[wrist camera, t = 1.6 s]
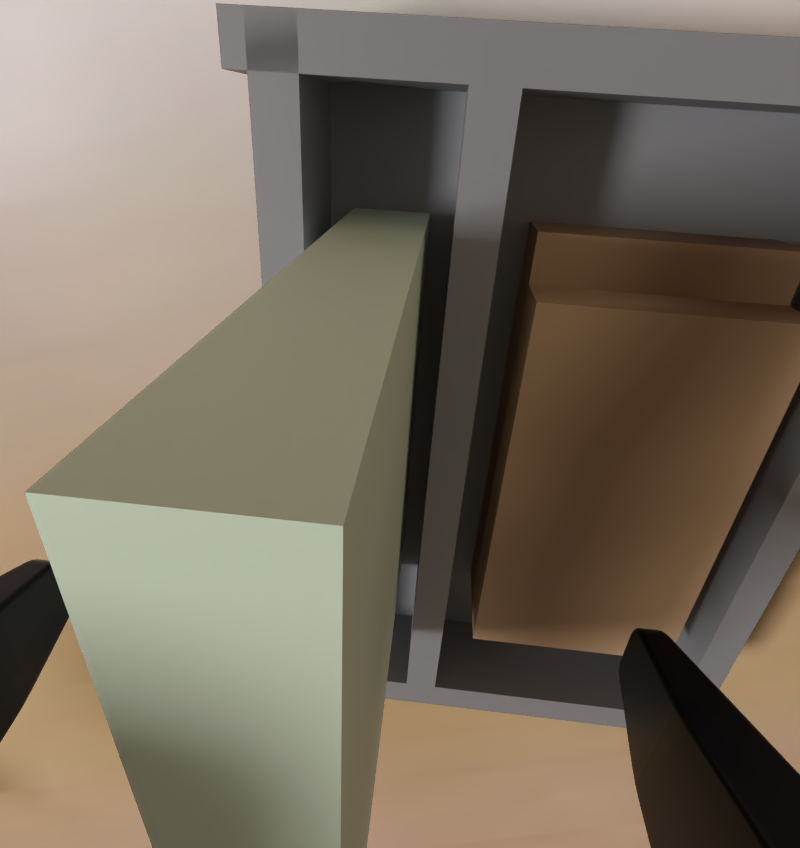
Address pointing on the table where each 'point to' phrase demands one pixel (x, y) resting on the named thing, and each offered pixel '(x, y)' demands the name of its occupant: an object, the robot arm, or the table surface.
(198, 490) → the board
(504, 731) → the table surface
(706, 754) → the robot arm
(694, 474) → the offcut top
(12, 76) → the table surface
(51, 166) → the table surface
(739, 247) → the offcut low
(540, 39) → the rack
